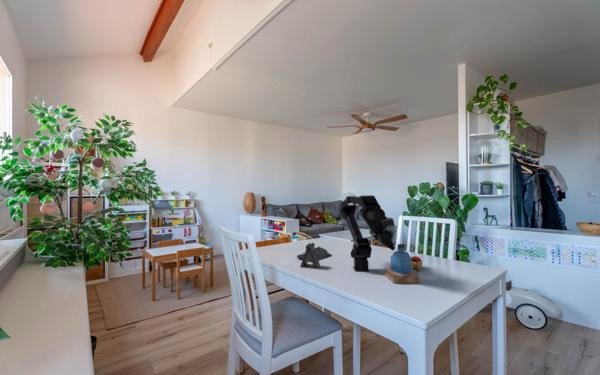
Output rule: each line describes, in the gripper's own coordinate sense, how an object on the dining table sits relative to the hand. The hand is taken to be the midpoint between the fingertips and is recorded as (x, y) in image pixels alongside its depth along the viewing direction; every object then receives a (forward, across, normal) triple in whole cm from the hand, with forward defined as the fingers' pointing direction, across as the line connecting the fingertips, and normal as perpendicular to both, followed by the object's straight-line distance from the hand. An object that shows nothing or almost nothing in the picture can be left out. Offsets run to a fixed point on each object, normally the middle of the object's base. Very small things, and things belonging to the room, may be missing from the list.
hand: (390, 247), depth 134 cm
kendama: (+19, +6, -4) cm, 20 cm away
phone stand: (-10, +14, +38) cm, 42 cm away
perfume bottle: (+9, -7, +3) cm, 12 cm away
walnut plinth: (+12, -7, +5) cm, 15 cm away
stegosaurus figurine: (-8, +34, +36) cm, 50 cm away
